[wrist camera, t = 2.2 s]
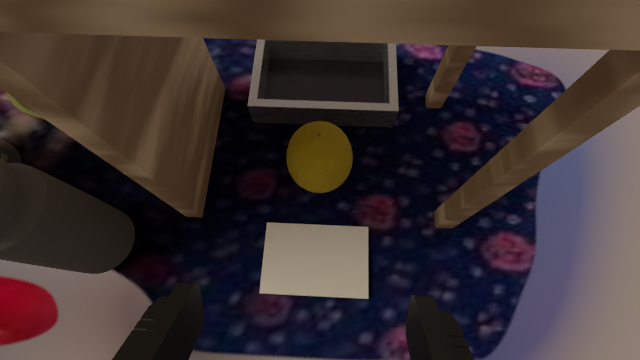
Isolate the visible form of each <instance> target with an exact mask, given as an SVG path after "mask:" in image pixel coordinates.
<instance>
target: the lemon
mask: <svg viewBox="0 0 640 360" xmlns="http://www.w3.org/2000/svg"><path fill="white" fill-rule="evenodd" d="M352 160H353V154H352V148H351V144H350V142H349V140H348V138H347V136H346V135H345V134H344V132H343V131H342V130H341V129H340V128H338V127H337V126H336V125H334V124H331V123H329V122H323V121H314V122H311V123H307V124H305V125H304V126H302V127H300V128H299V129H298V130H297V131H296V132H295V133H294V135H293V136H292V138H291V140H290V142H289V145H288V148H287V160H286V161H287V166H288V170H289V172H290V174H291V176H292V178H293V179H294V181H295V182H296V183H297V184H298V185H299V186H300V187H302V188H304V189H305V190H307V191H310V192H314V193H325V192H330V191H332V190H334V189H336V188H337V187H339V186H340V185H341V184H342V183H343V182H344V181H345V180H346V178H347V177H348V175H349V173H350V170H351V168H352Z"/></svg>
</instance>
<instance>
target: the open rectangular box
mask: <svg viewBox="0 0 640 360" xmlns="http://www.w3.org/2000/svg"><path fill="white" fill-rule="evenodd" d="M248 109H249V111H250V114H251V117H252V119H253V122H254V123H278V124H307V123H311V122H314V121H323V122H329V123H331V124H334V125H336V126H361V127H389V128H393V125H394V122H395V120H396V117H397V114H398V111H399V108H398V84H397V60H396V44H395V43H361V42H327V41H293V40H258V39H257V45H256V51H255V58H254V65H253V72H252V79H251V85H250V92H249V99H248Z"/></svg>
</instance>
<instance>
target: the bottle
mask: <svg viewBox="0 0 640 360" xmlns="http://www.w3.org/2000/svg"><path fill="white" fill-rule="evenodd" d="M134 241H135V227H134V225H133V222H132V220H131V219H130V218H129V217H128V216H127V215H126V214H125V213H123V212H122V211H120V210H118V209H116V208H114V207H112V206H110V205H108V204H107V203H105V202H103V201H101V200H99V199H97V198H95V197H93V196H91V195H89V194H87V193H85V192H83V191H81V190H79V189H77V188H75V187H73V186H71V185H69V184H67V183H65V182H63V181H61V180H59V179H57V178H54V177H52V176H50V175H48V174H46V173H44V172H42V171H40V170H38V169H36V168H33V167H31V166H28V165H25V164H20V163H6V162H5V161H4V160H2V159H1V158H0V259H2V260H7V261H13V262H19V263H26V264H32V265H38V266H44V267H50V268H56V269H63V270H69V271H75V272H82V273H91V274H93V273H95V274H98V273H103V272H107V271H109V270H111V269H113V268H115V267H116V266H118V265H119V264H121V263H122V262H123V261H124V260H125V258H126V257H127V256H128V255H129V253H130V251H131V249H132V247H133V244H134Z"/></svg>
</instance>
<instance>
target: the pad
mask: <svg viewBox="0 0 640 360" xmlns="http://www.w3.org/2000/svg"><path fill="white" fill-rule="evenodd" d="M259 293H260V294H279V295H299V296H319V297H339V298H359V299H369V297H368V227H358V226H336V225H314V224H291V223H269V222H267V226H266V236H265V245H264V254H263V264H262V273H261V282H260V292H259Z"/></svg>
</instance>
